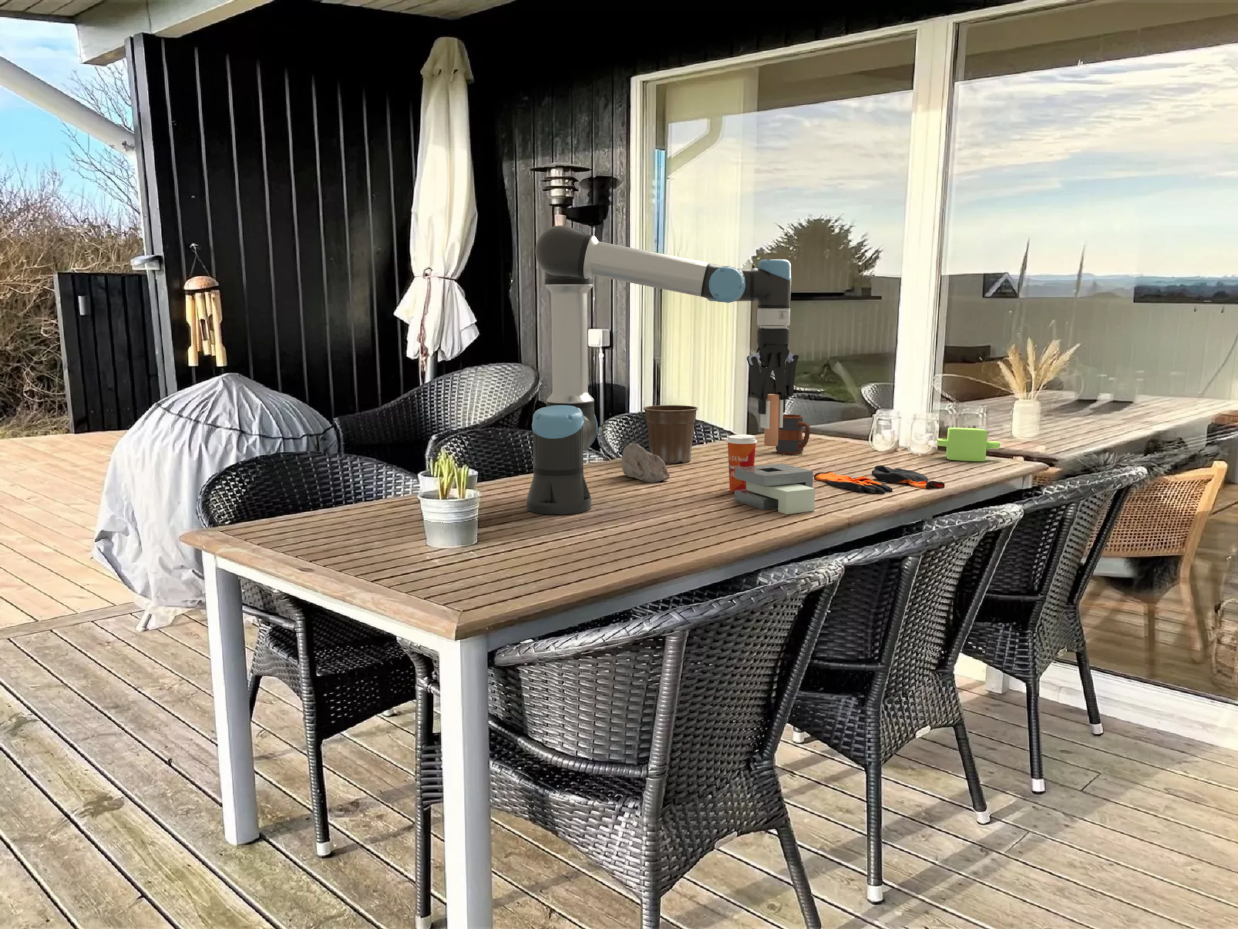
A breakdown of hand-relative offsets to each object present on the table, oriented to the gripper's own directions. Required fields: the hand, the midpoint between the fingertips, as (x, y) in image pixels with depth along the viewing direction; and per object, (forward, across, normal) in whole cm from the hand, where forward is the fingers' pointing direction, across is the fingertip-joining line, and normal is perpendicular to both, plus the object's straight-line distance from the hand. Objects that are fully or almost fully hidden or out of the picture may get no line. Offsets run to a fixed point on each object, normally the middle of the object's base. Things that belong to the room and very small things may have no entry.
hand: (771, 427), depth 233 cm
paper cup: (+18, +2, +15) cm, 24 cm away
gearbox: (+19, +90, +24) cm, 95 cm away
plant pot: (+18, +9, +63) cm, 66 cm away
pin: (+4, 0, 0) cm, 4 cm away
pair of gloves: (+19, +40, +7) cm, 45 cm away
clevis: (+18, 0, 0) cm, 18 cm away
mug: (+18, +50, +57) cm, 78 cm away
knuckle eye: (+18, 0, -4) cm, 19 cm away
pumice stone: (+18, -12, +41) cm, 47 cm away
